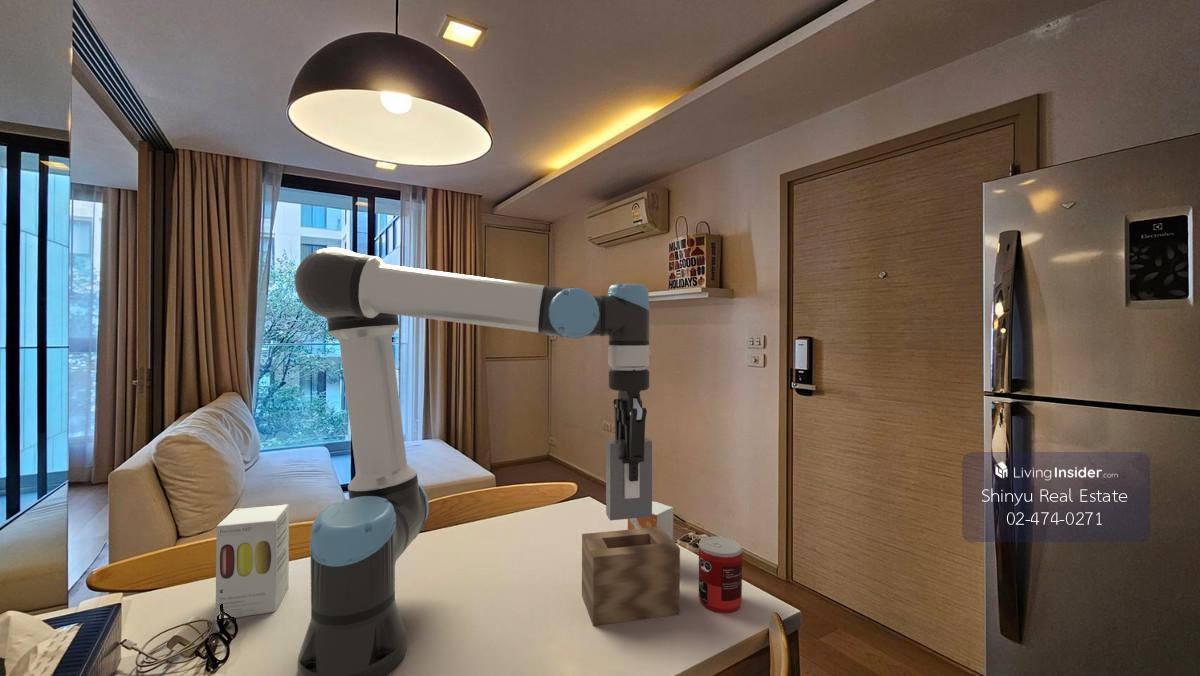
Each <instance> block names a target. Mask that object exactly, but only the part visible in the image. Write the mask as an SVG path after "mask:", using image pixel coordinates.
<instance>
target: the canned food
mask: <svg viewBox="0 0 1200 676" xmlns="http://www.w3.org/2000/svg"><path fill="white" fill-rule="evenodd" d="M742 546H743V545H741V544H740V543H739V542H738V541H737V540H734V539H731V538H728V537H725V536H718V535H717V536H715V535H713V536H707V537H703V538H701V539H700V540H699V543H698V599H699V602H700V603H701V605H702V606H704V607H705V608H707V609H708V610H710V611H712V612H716V613H722V614H726V613H727V614H728V613H733V612H736V611H738V610H739V609H740V607H741V605H742V601H743V600H742V598H743V597H742V594H743V591H742V590H743V583H742V582H743V547H742Z"/></svg>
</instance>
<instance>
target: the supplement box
mask: <svg viewBox="0 0 1200 676" xmlns="http://www.w3.org/2000/svg"><path fill="white" fill-rule="evenodd" d="M215 538H216V548H215V549H216V550H215V553H216V554H215V556H216V557H215V617H214V618H215V619H214V620H215V621H218V620H217V616H218V614H219V612H220V605H221V604H223V609H224V612H225V613H227V614H229V615H231V616H232V617H234V618H233V619H235V618H243V617H248V616H255V615H261V614H268V613H275V612H276V611H277V609H278V607H279V606H280V604H281V602H282V600H283V598H284V597H285V595H286V593H287V591H288V589H289V581H290V580H289V578H290V577H289V575H290V574H289V571H290V570H289V569H290V560H289V559H290V558H289V555H290V551H289V549H290V504H287V503H285V504H279V505H267V506H255V507H245V508H240V507H239V508H235V509H233V510H232V511H231V512H230V513H229V514H228V515H227V516H225V517H224V518H223V520H221V522H219V523H218V524H217V525H216V537H215Z"/></svg>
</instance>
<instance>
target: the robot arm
mask: <svg viewBox="0 0 1200 676" xmlns="http://www.w3.org/2000/svg"><path fill="white" fill-rule="evenodd" d="M294 287H295V290H296V294H297V296H298V298H299V299H300V301H301V302H302V304H303V305H304V306H305V307H306V308H307V309H308V310H310V311H311V312H312V313H314V314H316V315H318V316H320V317H324V318H326V323H327V329H328V334H329V335H330V336H331V337H333V338H334V339H336V340H337V341H338V343H339V349H340V357H341V363H342V364H341V365H342V372H343V373H342V374H343V381H344V389H345V398H346V404H347V412H348V413H347V414H348V420H349V429H350V436H351V443H352V452H353V459H354V460H353V461H354V468H355V469H354V470H355V475H354V477H353V478H352V480H351V481H350V482H349V483H348V485H347V492H348V498H347V499H344V500H343V501H342V502H336V503H333V504H331V505H329V506H328V507H327V508H325V509H324V510H323V511H321V512H320V513H319V514H318V515H317V516H316V518H315V519H314V521H313V523H312V526H311V534H310V535H311V536H310V539H309V554H310V605H311V608H310V609H311V610H310V611H311V612H310V622H309V625H308V627H307V630H306V632H305V636H304V638H303V642H302V644H301V646H300V647H301V648H300V650H299V654H298V657H297V676H386V675H388V674H390V672H391V671H392V670H394V669H395V668H396V667H397V666H399V664H400V663H401V662H402V660H403V658H404V656H405V655H406V652H407V647H408V646H407V643H408V641H407V639H408V638H407V637H408V636H407V635H408V633H407V630H406V629H407V628H406V626H405V623H404V620H403V618H402V615H401V613H400V610H399V607H398V604H397V601H396V590H395V589H396V563H397V561H398V560H399V558H400V557H401V556H402V554H403V553H404V552H405V551H406V549H407V548H408V547H409V545H411V543H412V542H413V541H414V540H415V539H416V538H417V537H418V536H419V534H420V533H421V531H422V529H423V528H424V526H425V524H426V520H427V518H428V515H429V509H430V508H429V507H430V503H429V498H428V495H427V492H426V490H425V489H424V488H423V486H422V485H420V484H419V479H418V472H417V469H415V468H413V467H411V465H409V464H408V463H407V462H408V460H407V454H406V446H405V437H404V430H403V429H404V428H403V419H402V411H401V405H400V395H399V387H398V379H397V371H396V370H397V369H396V362H395V353H394V347H393V340H392V339H393V336H394V334H395V333H396V332H397V330H398V329H399V328H400V325H399V316H405V317H412V318H418V319H419V318H420V319H428V320H436V321H443V322H444V321H445V322H451V323H452V322H453V323H459V324H460V323H461V324H467V325H469V324H470V325H477V326H483V327H484V326H485V327H492V328H501V329H507V330H508V329H509V330H515V331H516V330H517V331H525V332H532V333H539V334H545V335H546V336H549V337H550V336H551V337H558V338H564V337H565V338H570V339H581V338H584V337H604V336H605V337H608V350H607V351H608V352H607V353H608V354H607V355H608V360H607V361H608V362H607V363H608V366H609V367H611V369H609V371H608V388H609V389H610V390H613V391H617V392H618V393H617V398H614V399H613V402H612V403H613V410H614V440H616V439H625V446H626V460H622V463H623V464H624V498H625V499H628V498H640V462H643V461H644V443H645V438H646V436H645V435H646V419H647V418H646V417H647V412H648V411H647V408H646V407H643V400H642V398H641V394H640V393H641V391H647V390H648V389H650V370H649V369H647V367H649V365H650V356H651V355H652V350H651V349H650V311H651V309H650V300H649V299H650V298H649V297H650V296H649V295H650V294H649V289H648V288H647V287H646V286H645V285H643V284H638V283H621V284H620V283H619V284H618V283H617V284H611V285H610V286H609V288H608V292H607V294H604V295H592V293H590V292H589V291H587V290H586V289H584V288H580V287H575V286H571V287H559V286H558V287H557V286H549V285H547V286H546V285H544V284H536V283H535V284H534V283H528V282H521V281H514V280H505V279H497V278H490V277H483V276H476V275H468V274H461V273H454V272H445V271H438V270H430V269H421V268H415V267H414V268H413V267H408V266H400V265H393V264H386V263H385V262H384V260H383V259H382V258H381V257H379V256H374V255H368V254H361V253H357V252H354V251H352V250H350V249H346V248H342V247H324V248H319V249H317V250H315V251H313V252H311V253H309V254H308V255H307V256H305V258H304V259H303V260H302V261H300V263H299V265H298V267H297V269H296V272H295V275H294Z"/></svg>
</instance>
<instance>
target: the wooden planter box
mask: <svg viewBox="0 0 1200 676" xmlns="http://www.w3.org/2000/svg"><path fill="white" fill-rule="evenodd" d="M680 574H681V548H680V546H679V545H678V544H677V543H676V542H675V541H674V539H673V540H672V539H671V538H670V537H669V536H668V534H667V533H666V532H665V531H664V530H663V529H662V528H661V527H652V528H641V529H630V530H628V529H622V530H621V529H619V530H611V531H610V530H609V531H600V532H598V531H597V532H589V533H587V532H586V533H582V534H581V597H582V600H583V602H584V605H585V607H586V608H585V609H586V611H587V613H588V616H589V619H590V621H591V624H592V627H594V626H595V627H596V626H601V625H610V624H617V623H624V622H632V621H641V620H647V619H654V618H659V617H660V618H661V617H668V616H674V615H675V616H676V615H680V595H681V593H680V590H681V589H680V582H681V578H680V577H681V575H680Z"/></svg>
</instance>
